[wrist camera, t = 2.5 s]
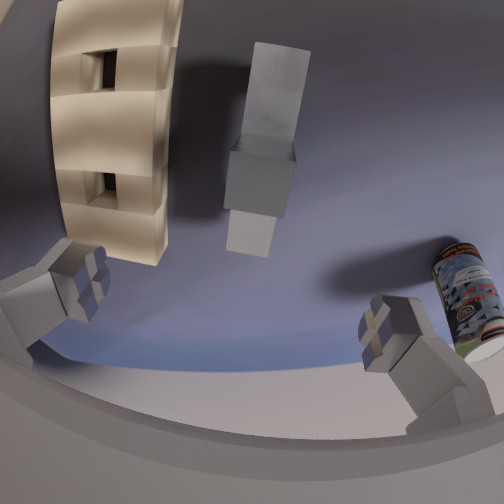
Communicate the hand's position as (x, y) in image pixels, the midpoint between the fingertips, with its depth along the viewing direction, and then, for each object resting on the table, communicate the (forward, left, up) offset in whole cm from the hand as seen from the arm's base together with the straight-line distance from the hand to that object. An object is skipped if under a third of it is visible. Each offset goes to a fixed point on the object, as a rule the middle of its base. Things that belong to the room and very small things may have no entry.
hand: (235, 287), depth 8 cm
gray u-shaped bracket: (0, 0, -17) cm, 17 cm away
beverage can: (+8, +22, -17) cm, 29 cm away
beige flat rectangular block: (0, -13, -17) cm, 21 cm away
